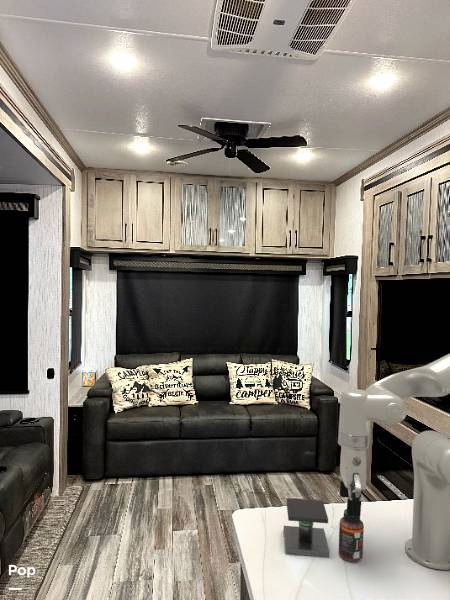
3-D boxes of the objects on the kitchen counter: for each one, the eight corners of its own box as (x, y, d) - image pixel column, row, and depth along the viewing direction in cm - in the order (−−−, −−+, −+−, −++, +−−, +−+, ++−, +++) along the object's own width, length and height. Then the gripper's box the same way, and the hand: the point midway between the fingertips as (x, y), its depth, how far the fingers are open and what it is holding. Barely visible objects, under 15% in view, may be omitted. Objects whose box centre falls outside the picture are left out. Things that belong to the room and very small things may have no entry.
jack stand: (323, 533, 122) (324, 499, 122) (329, 557, 112) (330, 520, 111) (283, 530, 123) (284, 497, 123) (285, 554, 112) (286, 517, 112)
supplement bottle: (363, 564, 109) (365, 519, 109) (339, 561, 110) (340, 516, 110) (361, 550, 115) (362, 507, 115) (337, 547, 116) (339, 505, 116)
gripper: (377, 452, 103) (373, 525, 103) (361, 429, 120) (357, 491, 120) (344, 450, 103) (340, 522, 104) (333, 427, 121) (329, 489, 121)
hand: (349, 505), depth 112 cm, fingers open, 9 cm apart
